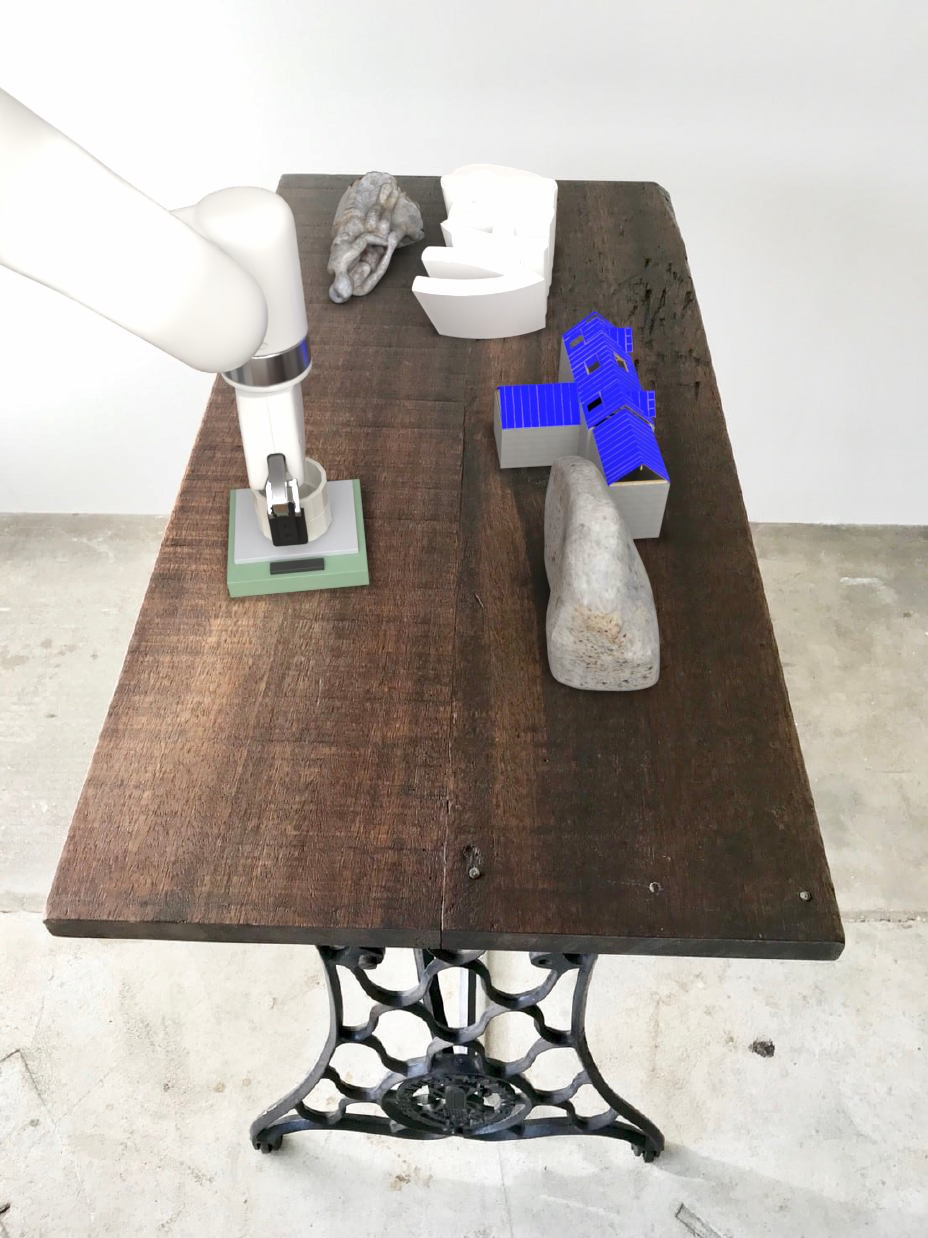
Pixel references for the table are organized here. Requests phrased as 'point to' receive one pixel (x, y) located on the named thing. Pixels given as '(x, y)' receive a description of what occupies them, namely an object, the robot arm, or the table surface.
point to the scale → (297, 549)
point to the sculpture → (370, 233)
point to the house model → (591, 422)
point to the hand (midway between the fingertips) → (290, 507)
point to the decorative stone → (595, 587)
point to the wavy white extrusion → (491, 254)
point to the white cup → (302, 501)
